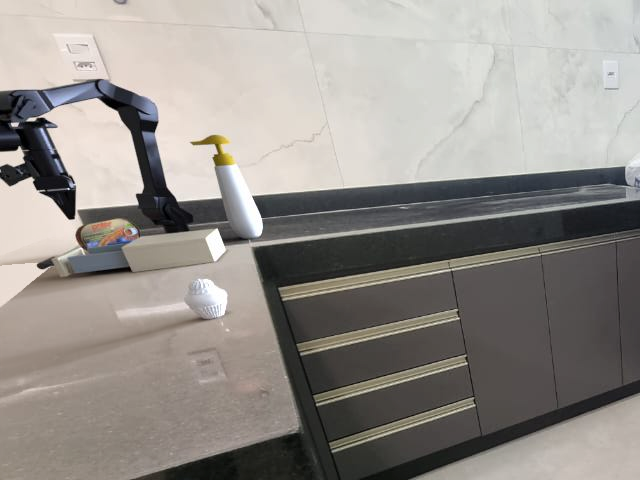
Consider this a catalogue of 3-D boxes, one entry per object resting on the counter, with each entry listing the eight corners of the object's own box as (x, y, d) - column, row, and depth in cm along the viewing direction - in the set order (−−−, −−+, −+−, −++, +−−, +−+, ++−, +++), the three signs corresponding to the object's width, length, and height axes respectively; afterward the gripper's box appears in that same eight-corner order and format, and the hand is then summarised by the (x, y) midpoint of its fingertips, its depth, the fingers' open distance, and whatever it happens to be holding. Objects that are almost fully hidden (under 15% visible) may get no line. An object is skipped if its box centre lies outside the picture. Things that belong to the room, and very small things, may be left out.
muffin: (184, 323, 93) (167, 285, 90) (204, 311, 98) (189, 275, 95) (222, 320, 93) (207, 282, 90) (240, 308, 99) (226, 272, 96)
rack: (35, 280, 121) (25, 261, 119) (61, 267, 132) (52, 250, 130) (144, 266, 129) (136, 249, 127) (160, 255, 140) (152, 239, 138)
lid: (117, 259, 142) (107, 238, 140) (147, 255, 145) (138, 235, 142) (111, 262, 138) (100, 241, 136) (141, 259, 141) (132, 238, 138)
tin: (91, 256, 146) (75, 226, 142) (82, 256, 147) (66, 226, 143) (146, 244, 159) (133, 215, 156) (138, 244, 160) (125, 215, 156)
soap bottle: (225, 237, 164) (187, 136, 151) (264, 232, 169) (230, 133, 157) (228, 244, 154) (187, 136, 142) (269, 237, 160) (233, 133, 147)
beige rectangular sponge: (132, 272, 128) (120, 247, 125) (151, 259, 140) (140, 236, 137) (215, 261, 134) (205, 237, 132) (225, 250, 146) (217, 228, 144)
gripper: (-7, 151, 125) (28, 218, 132) (-17, 153, 113) (22, 227, 119) (59, 148, 132) (89, 212, 138) (56, 149, 119) (89, 219, 126)
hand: (72, 217), depth 130 cm, fingers open, 9 cm apart
